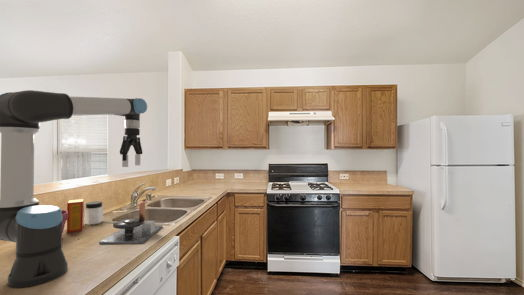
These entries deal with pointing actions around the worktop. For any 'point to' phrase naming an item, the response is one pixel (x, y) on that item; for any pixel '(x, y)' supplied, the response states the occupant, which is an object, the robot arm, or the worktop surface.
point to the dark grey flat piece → (133, 234)
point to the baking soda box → (75, 215)
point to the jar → (93, 213)
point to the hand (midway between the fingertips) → (131, 166)
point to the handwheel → (132, 220)
